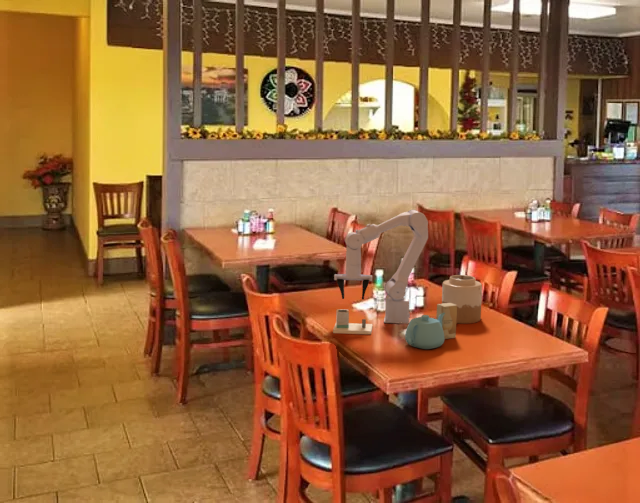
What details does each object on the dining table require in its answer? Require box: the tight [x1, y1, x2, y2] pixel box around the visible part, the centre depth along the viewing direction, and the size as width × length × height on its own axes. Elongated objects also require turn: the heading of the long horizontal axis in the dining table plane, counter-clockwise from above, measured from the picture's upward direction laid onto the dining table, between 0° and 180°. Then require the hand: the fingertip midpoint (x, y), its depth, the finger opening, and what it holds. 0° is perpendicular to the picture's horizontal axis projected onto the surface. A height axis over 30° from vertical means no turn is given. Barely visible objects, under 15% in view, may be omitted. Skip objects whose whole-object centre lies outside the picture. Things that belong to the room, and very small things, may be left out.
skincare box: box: [435, 303, 457, 340], centre depth 268 cm, size 6×4×12 cm
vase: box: [441, 274, 483, 325], centre depth 293 cm, size 15×15×17 cm
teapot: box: [404, 313, 446, 350], centre depth 259 cm, size 13×11×18 cm
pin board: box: [332, 318, 374, 335], centre depth 278 cm, size 14×10×4 cm
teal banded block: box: [335, 308, 350, 328], centre depth 278 cm, size 4×4×6 cm
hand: (353, 298), depth 287 cm, fingers open, 7 cm apart
